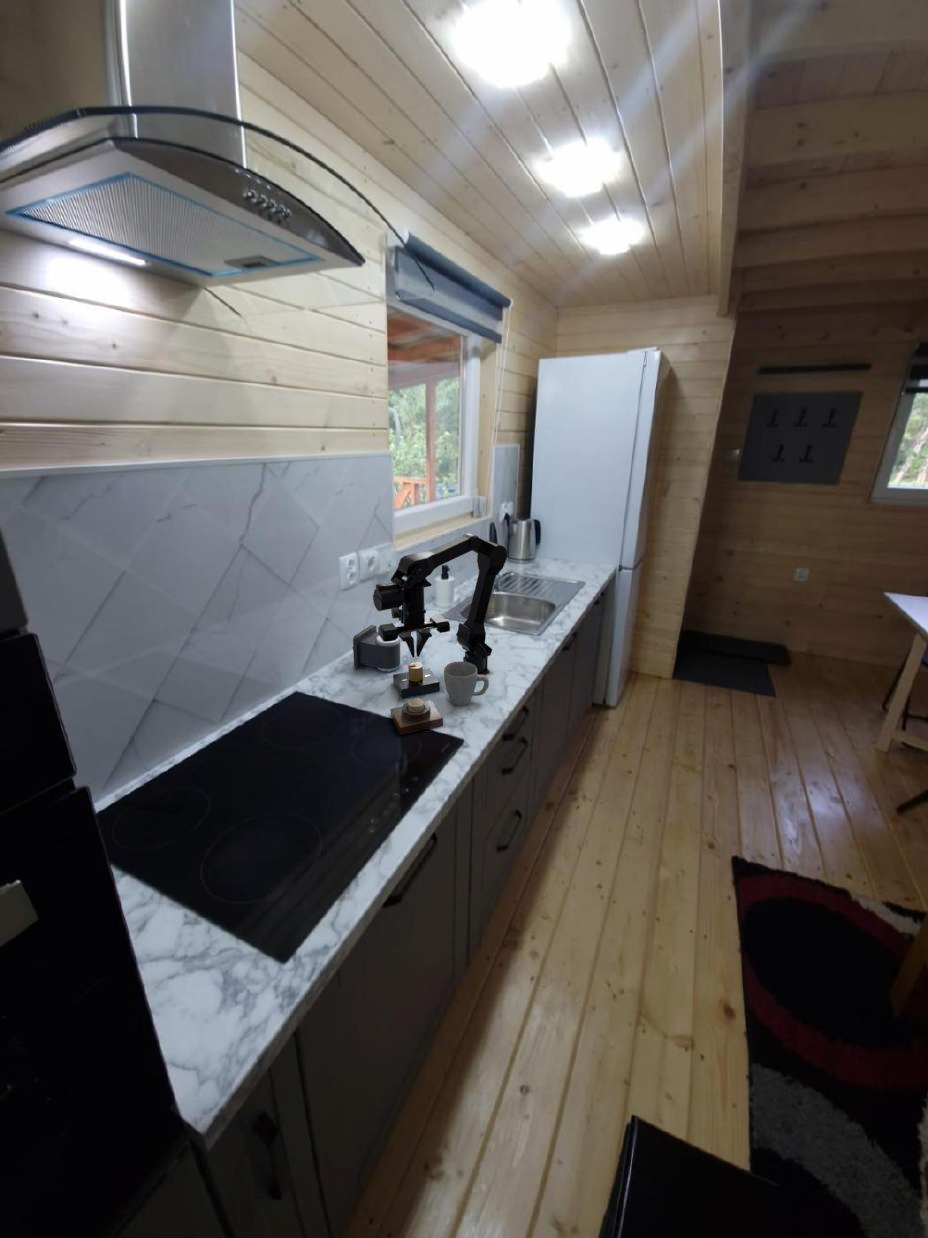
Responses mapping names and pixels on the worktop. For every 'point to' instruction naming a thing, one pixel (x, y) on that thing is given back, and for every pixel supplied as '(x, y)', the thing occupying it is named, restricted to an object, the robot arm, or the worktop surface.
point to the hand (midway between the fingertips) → (415, 656)
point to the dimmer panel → (416, 684)
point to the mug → (463, 682)
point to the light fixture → (375, 650)
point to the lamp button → (416, 705)
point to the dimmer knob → (415, 671)
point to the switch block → (416, 718)
